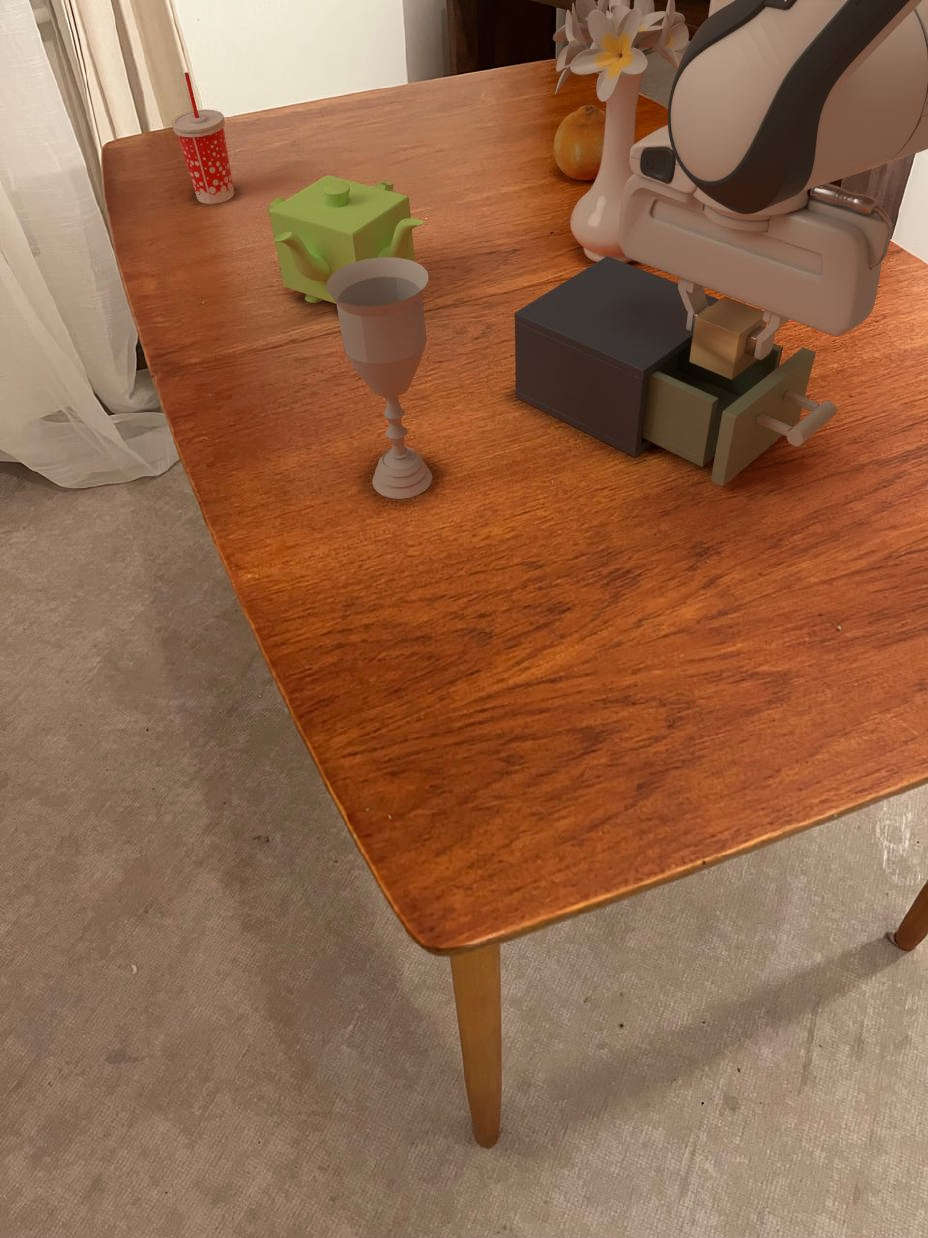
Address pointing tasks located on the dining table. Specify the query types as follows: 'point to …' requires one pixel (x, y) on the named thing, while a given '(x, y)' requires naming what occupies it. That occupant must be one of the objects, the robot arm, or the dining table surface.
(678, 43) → the flower vase
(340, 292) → the chalice
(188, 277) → the dining table surface
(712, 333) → the block
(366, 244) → the kettle
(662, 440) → the drawer
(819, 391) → the dining table surface
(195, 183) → the beverage cup
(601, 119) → the fruit
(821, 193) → the robot arm
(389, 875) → the dining table surface
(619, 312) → the cabinet
